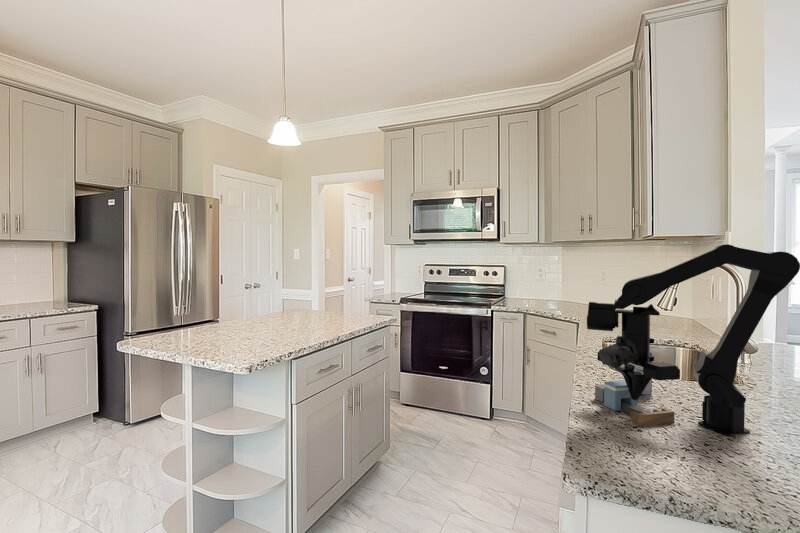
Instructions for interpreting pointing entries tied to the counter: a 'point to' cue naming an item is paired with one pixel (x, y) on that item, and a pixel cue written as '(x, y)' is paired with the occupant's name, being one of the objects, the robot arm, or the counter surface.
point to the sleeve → (616, 394)
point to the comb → (652, 417)
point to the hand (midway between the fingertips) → (634, 399)
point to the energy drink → (647, 387)
